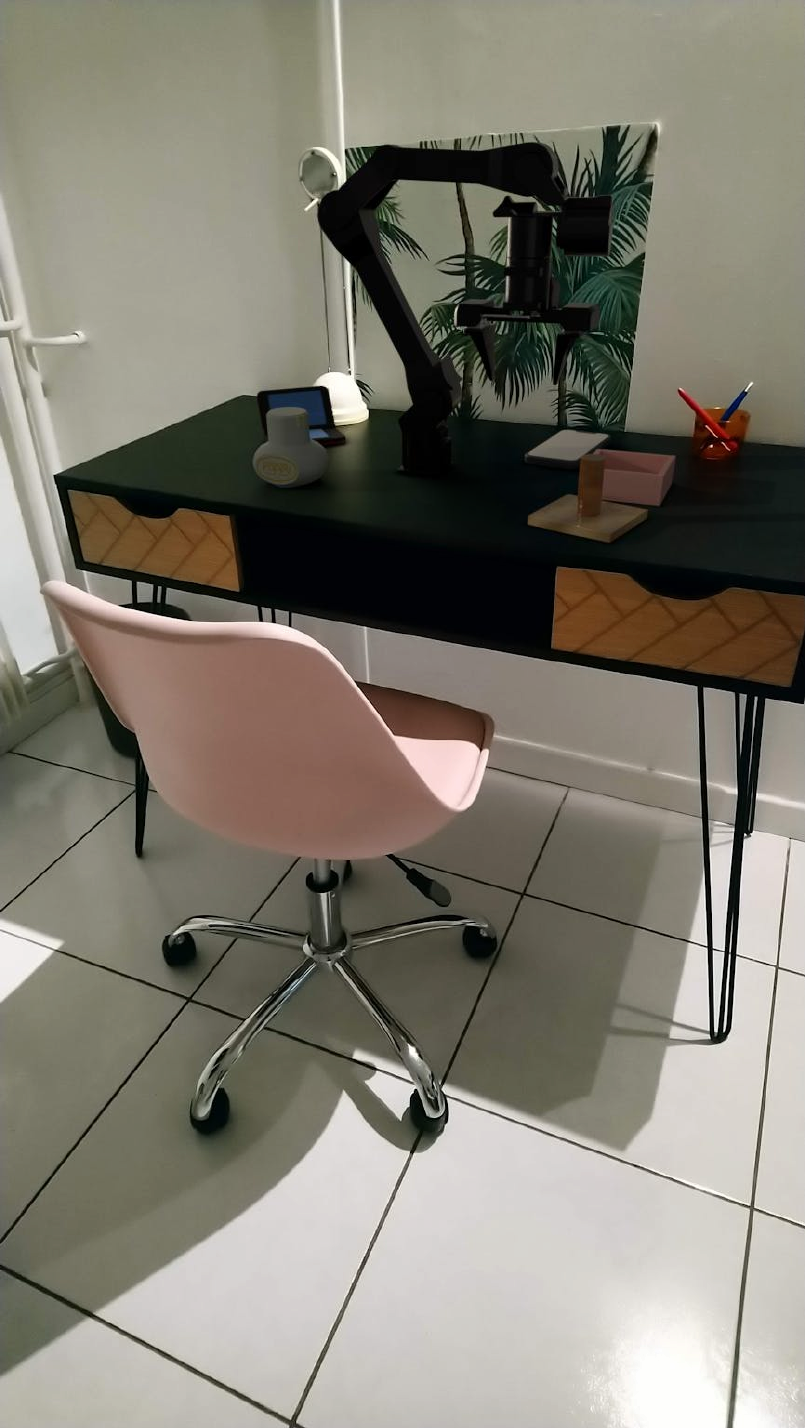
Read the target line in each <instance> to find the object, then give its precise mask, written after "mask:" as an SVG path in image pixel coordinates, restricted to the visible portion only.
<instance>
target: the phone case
mask: <svg viewBox="0 0 805 1428" xmlns="http://www.w3.org/2000/svg"><path fill="white" fill-rule="evenodd" d="M611 442H612V435H611V434H607V433H600V432H590V431H583V430H576V429H575V430H573V429H562V430H560V431H558V432H557V433H555V434H553V435H552V436H550V437H549V438H547V439H546V440H544V441H542V442H541V443H540V444H538V445H537V446H535V447H534V448H532V449H530V450H529V451H528V452H526V453H525V454H524V463H525V464H527V465H533V466H538V467H546V468H552V469H553V468H554V469H560V470H569V471H573V470H574V471H575V470H577V469H580V461H581V456H582V455H586V454H593V453H594V452H595V451H596V450H597V449H602V450H603V449H604V450H605V449H606V448H607V447H608V446H610V445H611Z"/></svg>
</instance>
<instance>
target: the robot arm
mask: <svg viewBox="0 0 805 1428" xmlns="http://www.w3.org/2000/svg"><path fill="white" fill-rule="evenodd" d="M398 181H413V182H414V181H415V182H430V183H431V182H434V183H451V184H452V183H454V184H472V185H473V184H477V185H481V186H485V187H488V188H491V189H494V190H498V191H500V192H504V193H508V195H505V196H504V197H503V198H502V199H503V200H502V201H501V203H500V204H499V205H498V206H497V207H496V208H495V209H494V210H493V211H492V213H491V214H492V217H493V218H507V240H506V241H507V244H506V266H504V267H503V277H505V299H504V301H503V302H502V306H498V305H497V306H496V305H495V302H494V299H480V298H479V299H478V298H477V299H473V298H470V299H467V300H465V301H462V302H459V303H458V304H457V306H456V307H455V310H454V312H453V313H454V314H453V316H454V317H453V318H454V319H453V320H454V321H453V326H454V327H463V329H462V330H463V334H465V335H469V337H470V338H471V340H472V342H473V344H474V347H475V348H476V350H477V353H478V354H479V357H480V360H481V362H482V365H483V368H484V370H485V373H486V376H487V378H488V381H489V382H493V381H494V380H495V375H496V357H495V354H496V353H495V335H496V329H497V323H491V322H504V323H505V322H506V323H528V324H529V323H531V324H556V325H557V324H558V325H560V327H561V328H562V330H561V331H559V332H557V333H556V339H555V340H556V341H555V351H554V360H553V370H552V385H553V386H557V385H558V384H559V382H560V379H561V376H562V373H563V372H564V369H565V366H566V363H567V361H568V358H569V355H570V353H571V351H572V349H573V348H574V346H575V344H576V342H577V341H578V339H580V338H582V337H583V336H585V335H586V334H588V333H589V332H591V331H593V330H594V329H596V328H597V327H599V326H600V317H601V309H600V307H599V305H598V304H597V303H596V302H574V301H572V302H569V303H567V304H566V305H564V306H562V307H561V308H558V306H559V299H560V292H561V291H560V290H561V284H560V283H559V281H557V280H556V278H554V276H553V270H554V269H553V263H552V249H553V246H552V245H553V230H554V217H555V218H556V217H557V219H556V228H555V248H557V249H558V248H559V250H563V256H564V257H566V258H567V257H572V258H573V257H610V253H611V246H612V241H613V240H612V239H613V228H614V223H613V222H612V221H613V220H612V219H613V199H614V196H613V195H612V194H601V195H597V196H573V197H572V195H571V194H570V192H569V188H567V187H566V185H565V184H564V182H563V180H562V178H561V177H560V175H559V159H558V157H557V154H556V152H555V151H554V150H553V148H552V147H551V146H550V145H548V144H547V143H544V142H540V141H539V142H536V141H527V142H521V143H516V144H510V145H504V146H498V147H495V148H494V147H492V148H487V149H481V150H477V149H476V150H474V149H456V148H455V149H453V148H451V149H450V148H429V147H428V148H427V147H408V146H407V147H404V146H401V145H397V144H388V143H387V144H386V143H385V144H381V145H379V146H378V147H376V148H375V150H374V151H373V153H372V154H371V156H370V157H369V158H368V159H367V160H366V161H365V162H364V163H363V164H362V165H361V166H360V167H359V168H358V169H357V170H356V171H355V172H353V173H352V174H351V175H350V176H349V178H347V179H346V180H345V181H344V183H342V185H341V186H340V187H339V188H338V189H334V190H333V189H332V190H331V191H329V192H327V193H325V195H324V196H323V197H322V198H321V199H320V202H319V204H318V208H317V213H316V218H317V223H318V226H319V228H320V230H321V231H322V233H323V234H324V235H325V237H326V238H327V239H328V241H329V243H331V245H332V246H333V247H334V250H336V251H337V253H338V254H340V255H341V256H342V257H343V258H344V259H345V260H346V261H347V262H348V263H349V264H350V265H351V267H352V268H353V269H354V271H355V273H356V274H357V276H358V278H359V281H360V283H361V284H362V286H363V288H364V291H365V292H366V294H367V296H368V298H369V300H370V302H371V303H372V306H373V308H374V310H375V312H376V314H377V315H378V317H379V319H380V321H381V323H382V325H383V328H384V329H385V332H386V333H387V335H388V337H389V339H390V341H391V343H392V344H393V347H394V349H395V350H396V352H397V355H398V357H399V359H400V360H401V362H402V364H403V365H402V366H403V368H404V373H405V380H406V386H407V387H406V388H407V391H408V394H409V397H410V400H411V402H412V405H411V406H409V408H408V409H406V411H405V412H403V414H402V415H401V416H400V417H399V418H398V419H397V423H398V426H399V428H400V431H401V466H400V467H398V468H397V473H401V474H409V475H419V476H428V477H439V476H440V475H442V474H443V473H444V472H446V471H447V470H448V469H449V468H451V467H452V466H453V461H452V438H451V437H450V436H449V426H448V425H443V424H444V423H445V422H447V421H448V418H449V416H450V415H451V414H452V413H453V412H454V411H455V410H456V408H458V406H459V404H460V403H461V400H462V396H463V388H462V385H461V382H462V381H463V380H464V378H463V377H462V375H460V374H459V373H458V372H457V370H456V367H455V365H454V361H453V358H452V356H451V354H449V353H447V354H446V355H445V356H444V357H442V358H441V357H440V356H439V355H438V354H437V353H436V352H435V351H434V350H433V348H432V347H431V346H430V343H429V342H428V340H427V337H426V336H425V333H424V331H423V329H422V327H421V326H420V323H419V321H418V320H417V317H416V316H415V314H414V311H413V309H412V307H411V305H410V303H409V301H408V299H407V297H406V295H405V293H404V292H403V289H402V288H401V286H400V283H399V281H398V279H397V277H396V275H395V274H394V271H393V269H392V267H391V265H390V263H389V261H388V259H387V257H386V255H385V253H384V250H383V245H382V238H381V232H380V227H379V226H380V225H379V223H378V221H377V217H376V213H375V211H376V210H377V209H378V208H379V206H380V205H381V204H382V203H383V202H384V201H385V199H386V198H387V196H388V195H389V193H390V192H391V191H392V190H393V188H394V186H395V185H396V184H397V182H398ZM509 194H513V195H516V196H520V197H525V198H531V197H535V198H537V200H539V201H541V203H543V204H544V205H546V206H548V207H561V210H539V207H538V203H537V201H515V200H514V199H513V198H512V196H511V195H509ZM514 312H520V313H519V314H517V313H516V314H515V313H514ZM464 327H465V328H464Z"/></svg>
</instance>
